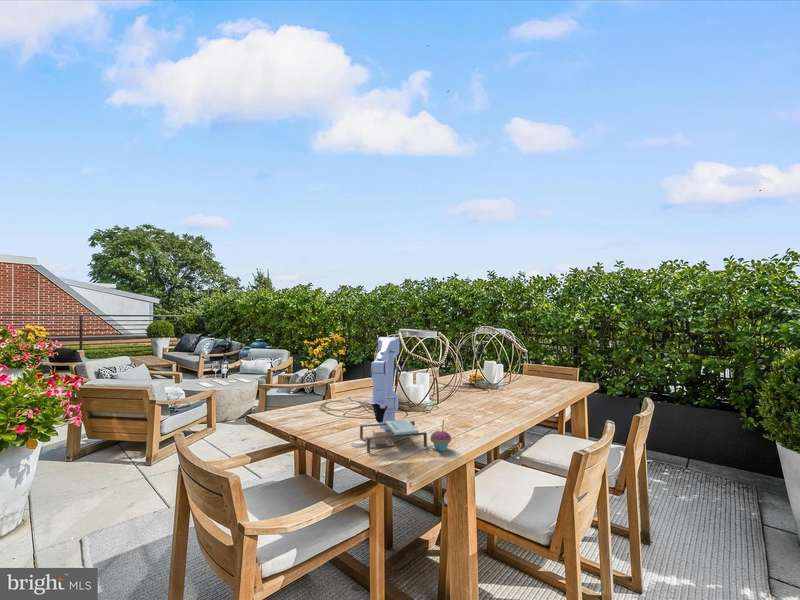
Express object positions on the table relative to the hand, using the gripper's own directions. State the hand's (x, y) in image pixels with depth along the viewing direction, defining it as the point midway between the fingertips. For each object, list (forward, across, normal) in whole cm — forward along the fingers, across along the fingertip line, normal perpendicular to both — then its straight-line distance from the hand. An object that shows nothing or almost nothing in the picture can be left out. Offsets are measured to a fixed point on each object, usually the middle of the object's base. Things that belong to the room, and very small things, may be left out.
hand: (379, 421), depth 164 cm
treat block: (+9, 0, 0) cm, 9 cm away
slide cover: (+3, 0, +10) cm, 10 cm away
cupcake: (+10, +11, +24) cm, 28 cm away
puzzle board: (+10, 0, +3) cm, 10 cm away
